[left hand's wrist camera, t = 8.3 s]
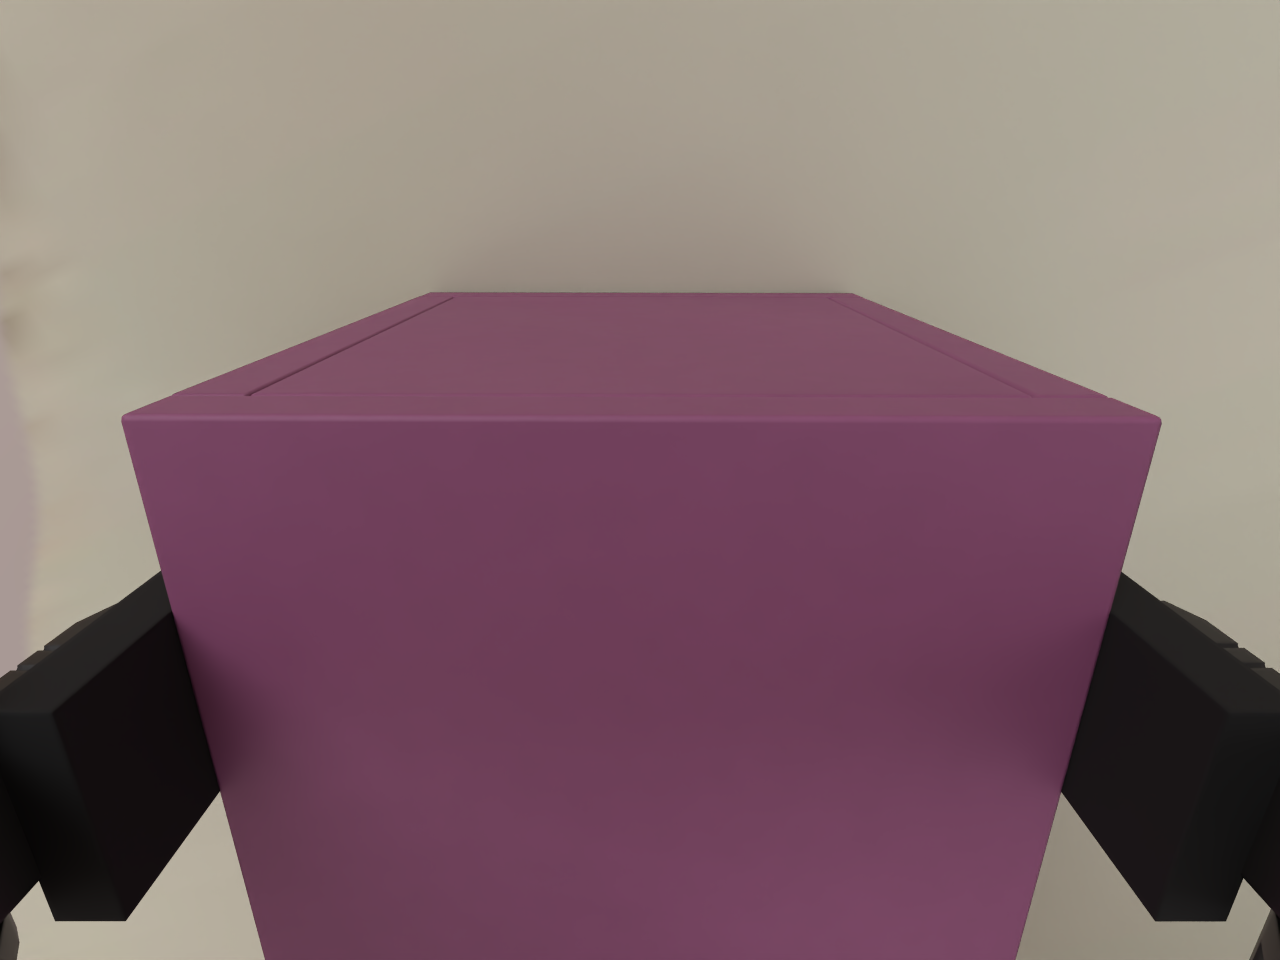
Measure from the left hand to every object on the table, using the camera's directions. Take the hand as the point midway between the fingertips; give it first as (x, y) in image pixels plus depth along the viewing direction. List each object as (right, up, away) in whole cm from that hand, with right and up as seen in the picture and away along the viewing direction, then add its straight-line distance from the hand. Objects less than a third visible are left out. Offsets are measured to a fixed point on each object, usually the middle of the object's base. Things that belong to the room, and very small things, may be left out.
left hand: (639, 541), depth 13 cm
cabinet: (0, -2, +8) cm, 8 cm away
